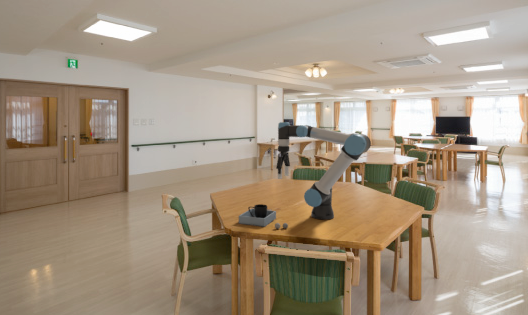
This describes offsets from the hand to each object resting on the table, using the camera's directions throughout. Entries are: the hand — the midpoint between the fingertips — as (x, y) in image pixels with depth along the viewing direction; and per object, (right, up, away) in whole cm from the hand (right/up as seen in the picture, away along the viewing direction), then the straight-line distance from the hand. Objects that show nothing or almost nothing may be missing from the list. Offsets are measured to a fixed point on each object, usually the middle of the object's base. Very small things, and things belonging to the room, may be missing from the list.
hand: (283, 177), depth 219 cm
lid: (-13, -26, +10) cm, 31 cm away
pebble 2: (0, -29, -23) cm, 37 cm away
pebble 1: (-5, -29, -24) cm, 38 cm away
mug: (-17, -27, -9) cm, 33 cm away
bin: (-17, -28, -9) cm, 34 cm away
